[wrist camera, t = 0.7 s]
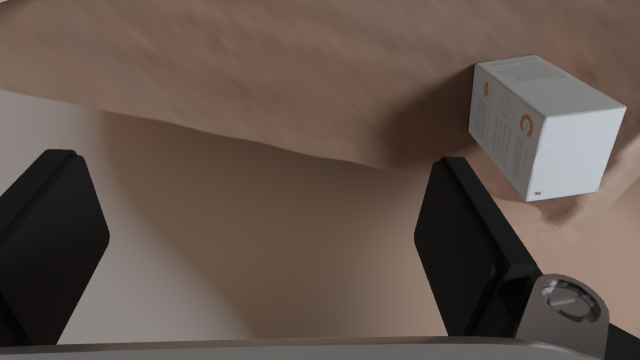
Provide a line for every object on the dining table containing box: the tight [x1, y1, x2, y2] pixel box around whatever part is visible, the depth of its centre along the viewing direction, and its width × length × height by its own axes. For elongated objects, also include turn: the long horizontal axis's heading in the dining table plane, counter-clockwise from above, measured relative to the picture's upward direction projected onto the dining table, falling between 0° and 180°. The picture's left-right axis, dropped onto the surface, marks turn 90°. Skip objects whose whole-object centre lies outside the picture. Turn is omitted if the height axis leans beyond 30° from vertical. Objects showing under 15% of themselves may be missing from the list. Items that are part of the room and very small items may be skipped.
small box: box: [468, 55, 627, 202], centre depth 36 cm, size 8×6×13 cm
